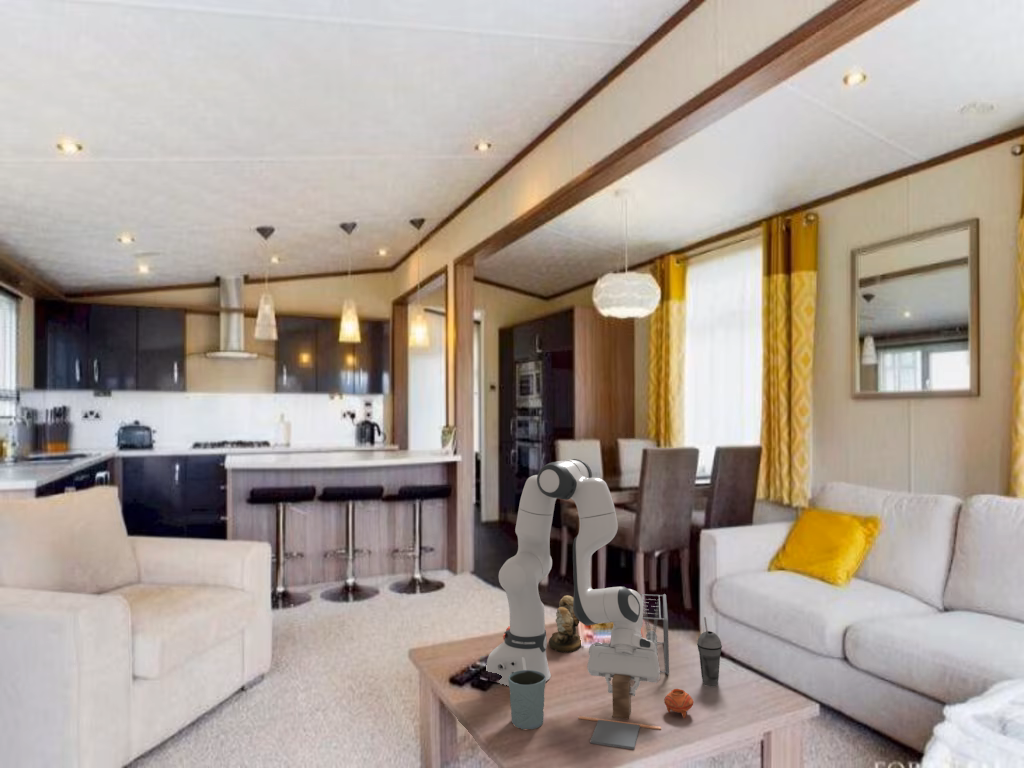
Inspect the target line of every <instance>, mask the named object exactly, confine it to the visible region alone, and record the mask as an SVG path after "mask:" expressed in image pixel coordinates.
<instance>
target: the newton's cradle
mask: <svg viewBox="0 0 1024 768" xmlns="http://www.w3.org/2000/svg"><path fill="white" fill-rule="evenodd" d="M639 594H640V596H641V598H642V603H643V621H644V624H645V629H646V635H645V637H646V638H645V639H647V640H649V641H652V642H654V644H655V646H656V650H657V651H658V644H663V653H664V655H663V656H664V671H663V670H660V674H661V673H663V674H666V675H669V674H670V658H669V657H670V653H669V649H670V648H669V647H670V646H669V616H668V603H667V595H666V594H665V593H664V594H647V593H646V594H643V593H642V594H641V593H639ZM644 596H646V597H647V596H648V597H651V596H652V597H658V601H657V602H656V606H655V605H652V607H654V608H655V607H656V609H655V613H652V612H647V611H648V609H647V605H646V603H647V604H648V602H646V601H645V600H644V599H645V598H644ZM660 597H662V615H661V598H660ZM648 600H650V601H655V598H654V599H651V598H648V599H647V601H648ZM648 614H649V615H650V614H651V615H654V617H648ZM649 620H654V621H653V626H652V630H651V625H650V621H649ZM659 620H661V621H662V623H663V625H662V626H663V630H662V631H663V632H662V633H663V642H661V641H658V635H657V628H658V621H659ZM658 655H659V654H658V652H657V656H658Z"/></svg>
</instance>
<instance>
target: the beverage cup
mask: <svg viewBox="0 0 1024 768" xmlns="http://www.w3.org/2000/svg"><path fill="white" fill-rule="evenodd" d="M703 620H704V626H705V628H704V629H705V631H703V632H702V633H700V635H699V636H698V640H697V650H698V653H699V663H700V664H699V665H700V670H701V671H700V672H701V679H702V684H703V685H704V686H706V687H710V688H711V687H714V688H715V687H717V686H718V685H719V678H720V661H721V652H722V648H723V645H722V641H721V638H720V637H719V636H718V634H717V633H715V632H713V631H711V630H710V631H709V630H708V625H707V618H706V616H704V617H703Z"/></svg>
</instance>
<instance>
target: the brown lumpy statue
mask: <svg viewBox="0 0 1024 768" xmlns="http://www.w3.org/2000/svg"><path fill="white" fill-rule="evenodd" d="M573 599H574V596H571V595H564V596H562V598H561V599H560V600H559V605H558V606H559V607H558V608H557V610H556V615H555V617H556V618H555V623H556V627H557V629H556V631H557V632H553V633H552V635H551V637H549V638H548V639H549V640H548V646H549V647H550V648H551V650H552V651H556V652H558V653H573V652H576V651H578V650H579V649H580V648H582V646H581V640H580V637H581V636H580V635H579V634H578V633H577V627H578V626H579V624H580V623H581V622H580V621H579V620H578V619H577V618H576V616H575V614H574V611H573Z"/></svg>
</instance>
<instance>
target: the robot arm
mask: <svg viewBox="0 0 1024 768" xmlns="http://www.w3.org/2000/svg"><path fill="white" fill-rule="evenodd" d="M592 472H593V471H592V469H591V467H590V466H589V464H587V462H585V461H583V460H581V459H577V458H571V459H560V460H558V461H552V462H549V463H547V464H545V465H543V466H542V467H541V468H540V470H539V471H538V473H537V474H534V475H531V476H529V477H528V478H527V479H526V481H525V483H524V486H523V489H522V493H521V496H520V500H519V506H518V511H517V517H516V523H515V524H516V525H515V529H514V530H515V531H514V532H515V534H516V536H517V545H518V547H517V552H516V554H515V555H514V556H512V557H510V558H508V559H506V561H505V562H504V563H503V565H502V566H501V568H500V569H499V572H498V582H499V584H500V586H501V587H502V589H503V590H504V591H505V594H506V595H505V596H506V598H507V601H508V609H509V611H508V612H509V626H508V627H506V630H505V631H504V634H503V635H502V639H503V640H504V641H503V642H501V643H500V644H498V645H497V646H496V647H495V648H493V650H492V651H491V652H490V653H489V655H488V656H487V660H486V664H487V665H486V664H485V665H486V671H488V672H492V673H497V674H499V675H501V676H502V678H501V679H500V680H499V683H500V684H499V685H502V684H504V685H503V686H506V685H507V686H506V687H509V680H508V677H509V675H510V674H512V673H514V672H517V671H521V670H533V671H538V672H541V673H543V674H544V675H545V677H546V680H545V683H546V682H547V681H548V680H550V679H551V677H552V676H551V675H552V674H551V672H550V668H549V664H548V658H547V645H548V641H547V640H548V639H547V630H546V627H545V626H546V624H545V622H546V621H545V616H546V615H545V605H544V603H543V602H542V601H541V598H540V594H539V593H540V592H539V583H540V582H542V581H543V580H545V579H546V578H547V576H548V575H549V574H550V572H551V570H552V567H553V559H552V556H551V548H550V544H551V543H550V541H551V539H550V538H551V530H552V524H553V519H554V518H553V517H554V511H555V506H556V505H555V504H556V501H557V499H559V500H564V501H567V500H569V499H571V500H572V501H573V502H574V504H575V506H576V510H577V513H578V515H577V516H578V518H579V530H578V534H577V535H576V536H575V537H574V539H573V542H572V543H573V544H572V565H573V567H572V568H573V569H572V572H573V598H574V599H573V611H574V614H575V616H576V618H577V619H578V620H579V621H580V622H579V623H581V624H583V625H584V626H587V627H588V626H593V625H598V624H605V623H613V625H612V629H611V633H610V643H608V642H599V641H598V642H597V641H595V642H594V643H592V644H590V645H589V649H588V655H589V656H588V660H587V672H588V673H589V674H590V676H594V677H595V676H596V677H604V678H605V681H606V683H607V693H608V694H612V683H611V682H612V679H613V677H614V674H617V675H626V676H630V679H631V681H634V684H633V686H631V687H629V695H631V697H632V696H633V697H635V696H636V690H637V689H638V688H639V687H640V684H641V682H646V683H656V684H657V683H658V682H659V681H660V680H661V672H660V671H661V669H660V662H659V661H660V660H659V657H658V655H657V653H658V650H656V646H655V644H654V642H652V641H649V640H647V638H644V637H642V636H643V635H642V628H643V623H644V619H643V617H644V615H643V613H644V611H643V609H644V603H642V595H640V594H641V593H639V592H638V591H636V590H634V589H631V588H627V587H625V586H612V587H606V588H605V587H603V588H595V589H593V588H592V585H591V566H590V565H591V563H590V561H591V558H592V556H593V554H594V553H596V551H598V550H599V549H601V548H602V547H604V546H606V545H608V544H609V543H610V542H611V541H613V539H614V538H615V537H616V535H617V532H618V529H619V523H618V517H617V513H616V508H615V504H614V500H613V498H612V493H611V491H610V488H609V486H608V484H607V482H606V481H605V480H604V479H602V478H600V477H593V473H592Z"/></svg>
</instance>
